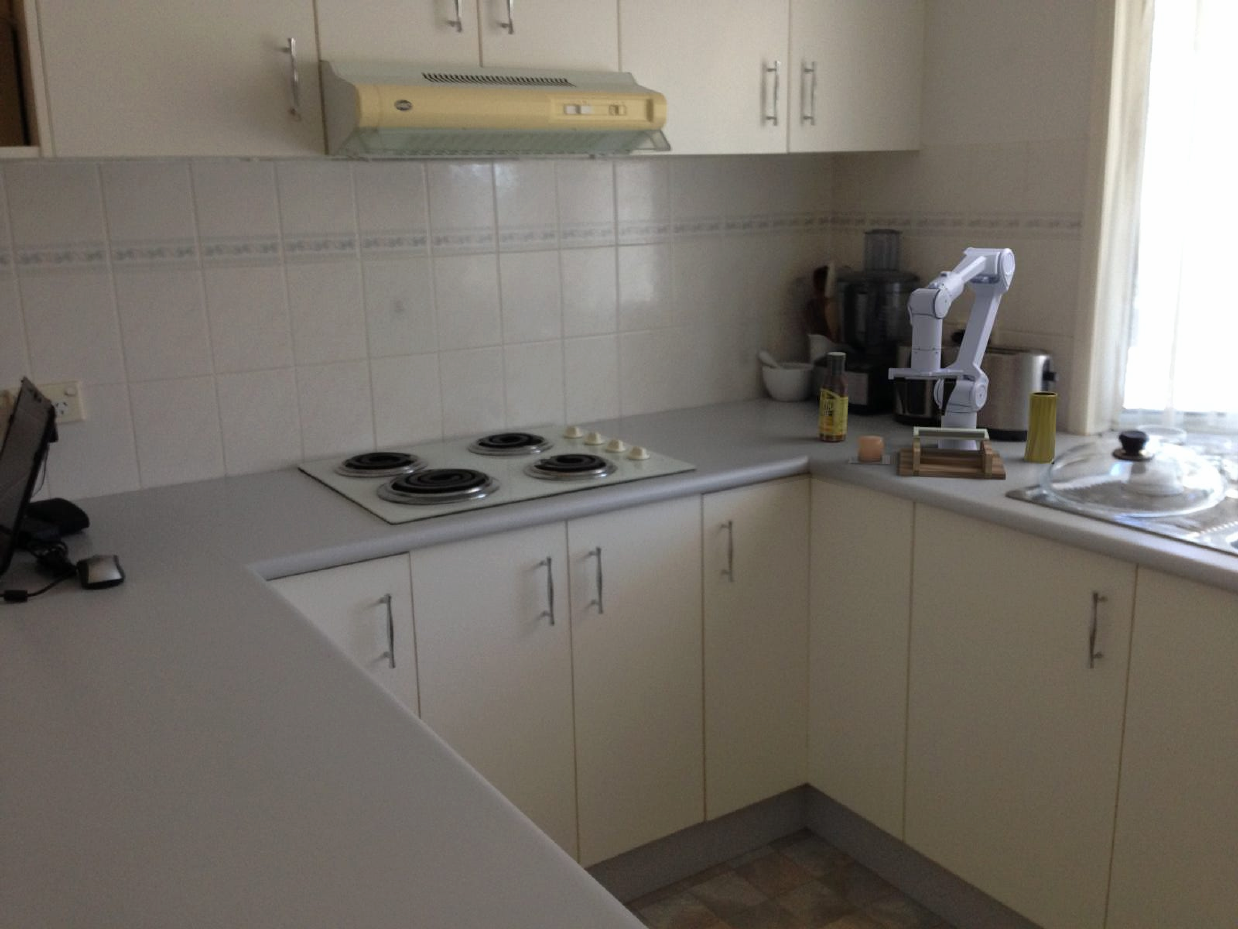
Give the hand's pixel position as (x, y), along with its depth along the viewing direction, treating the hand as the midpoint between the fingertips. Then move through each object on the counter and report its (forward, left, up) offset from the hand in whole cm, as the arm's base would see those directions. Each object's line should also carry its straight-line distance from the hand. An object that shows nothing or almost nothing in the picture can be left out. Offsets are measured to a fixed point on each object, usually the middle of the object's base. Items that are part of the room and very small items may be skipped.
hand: (923, 414), depth 236 cm
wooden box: (+3, +6, -10) cm, 12 cm away
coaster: (+1, -10, -10) cm, 15 cm away
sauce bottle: (-19, -19, -10) cm, 29 cm away
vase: (-5, +24, -10) cm, 26 cm away
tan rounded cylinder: (+1, -10, -10) cm, 14 cm away
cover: (-3, +6, -5) cm, 8 cm away
